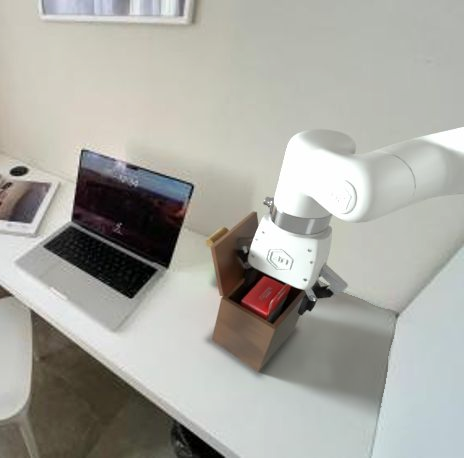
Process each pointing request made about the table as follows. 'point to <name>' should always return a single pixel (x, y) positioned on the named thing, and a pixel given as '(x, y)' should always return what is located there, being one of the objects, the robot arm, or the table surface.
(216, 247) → the wooden box lid
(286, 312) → the chest
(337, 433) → the table surface
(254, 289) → the ink box
